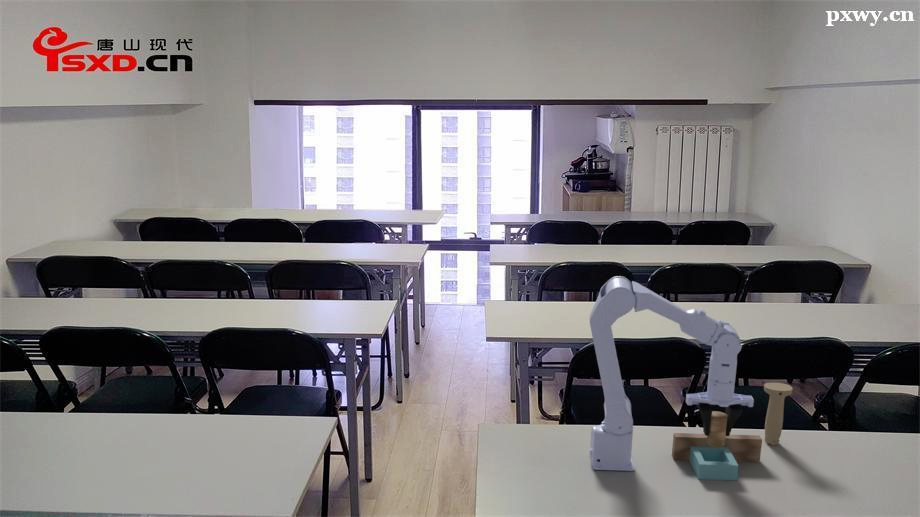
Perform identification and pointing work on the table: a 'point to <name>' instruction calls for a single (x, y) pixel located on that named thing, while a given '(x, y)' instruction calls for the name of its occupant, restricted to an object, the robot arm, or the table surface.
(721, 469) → the socket block
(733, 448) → the wall
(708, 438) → the dowel
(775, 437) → the handle
